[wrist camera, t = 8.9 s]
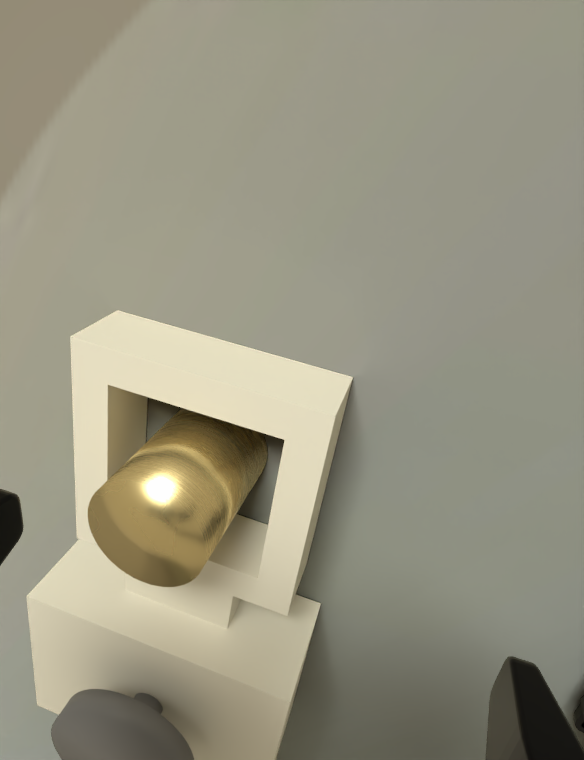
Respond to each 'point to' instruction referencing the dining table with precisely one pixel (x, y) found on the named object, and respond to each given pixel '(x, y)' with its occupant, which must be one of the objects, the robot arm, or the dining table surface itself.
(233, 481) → the brass cylinder
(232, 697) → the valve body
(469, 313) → the dining table surface
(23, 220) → the dining table surface
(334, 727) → the dining table surface
